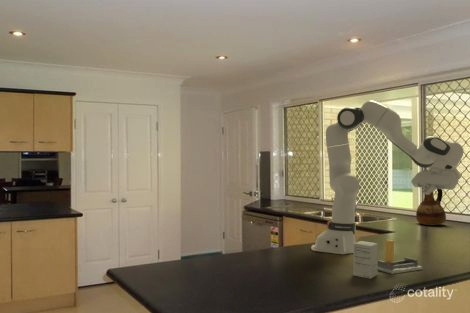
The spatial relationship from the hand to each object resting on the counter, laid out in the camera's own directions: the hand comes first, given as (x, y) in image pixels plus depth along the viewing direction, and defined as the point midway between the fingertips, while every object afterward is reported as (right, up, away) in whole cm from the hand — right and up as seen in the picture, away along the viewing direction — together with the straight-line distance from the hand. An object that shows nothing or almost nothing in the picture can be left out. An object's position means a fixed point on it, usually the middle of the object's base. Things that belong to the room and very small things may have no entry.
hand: (425, 193), depth 187 cm
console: (-15, -31, -8) cm, 35 cm away
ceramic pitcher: (+61, -34, +129) cm, 147 cm away
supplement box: (-32, -31, -19) cm, 49 cm away
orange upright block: (-20, -30, -10) cm, 37 cm away
